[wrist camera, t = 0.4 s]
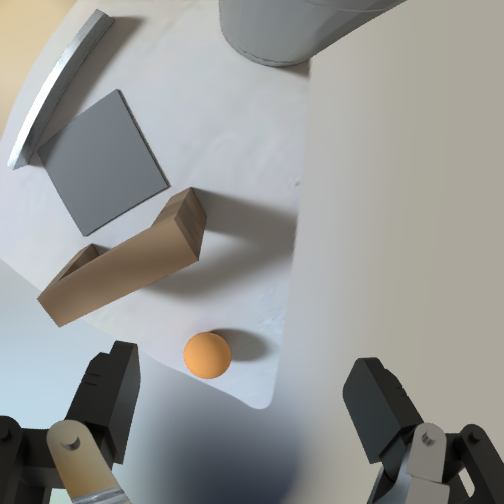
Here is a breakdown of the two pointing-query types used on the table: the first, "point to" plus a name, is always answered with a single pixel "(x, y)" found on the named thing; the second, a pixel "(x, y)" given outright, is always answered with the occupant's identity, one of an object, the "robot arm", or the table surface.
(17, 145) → the silver curved bar
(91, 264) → the bridge
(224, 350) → the ball
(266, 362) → the table surface
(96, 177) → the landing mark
